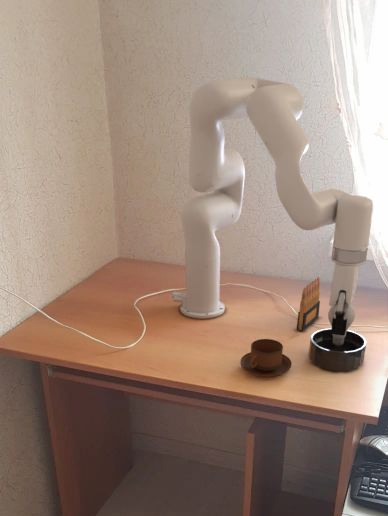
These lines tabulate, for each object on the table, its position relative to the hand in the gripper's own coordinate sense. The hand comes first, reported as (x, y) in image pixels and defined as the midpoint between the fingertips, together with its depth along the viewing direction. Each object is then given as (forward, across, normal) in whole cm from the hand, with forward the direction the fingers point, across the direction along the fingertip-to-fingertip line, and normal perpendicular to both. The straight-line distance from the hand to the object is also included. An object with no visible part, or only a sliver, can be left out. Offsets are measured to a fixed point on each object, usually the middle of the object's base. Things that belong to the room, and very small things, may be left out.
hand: (339, 327), depth 148 cm
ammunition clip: (+9, -19, -10) cm, 23 cm away
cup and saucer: (+9, +10, -15) cm, 20 cm away
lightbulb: (+5, 0, 0) cm, 5 cm away
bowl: (+9, 0, 0) cm, 9 cm away
